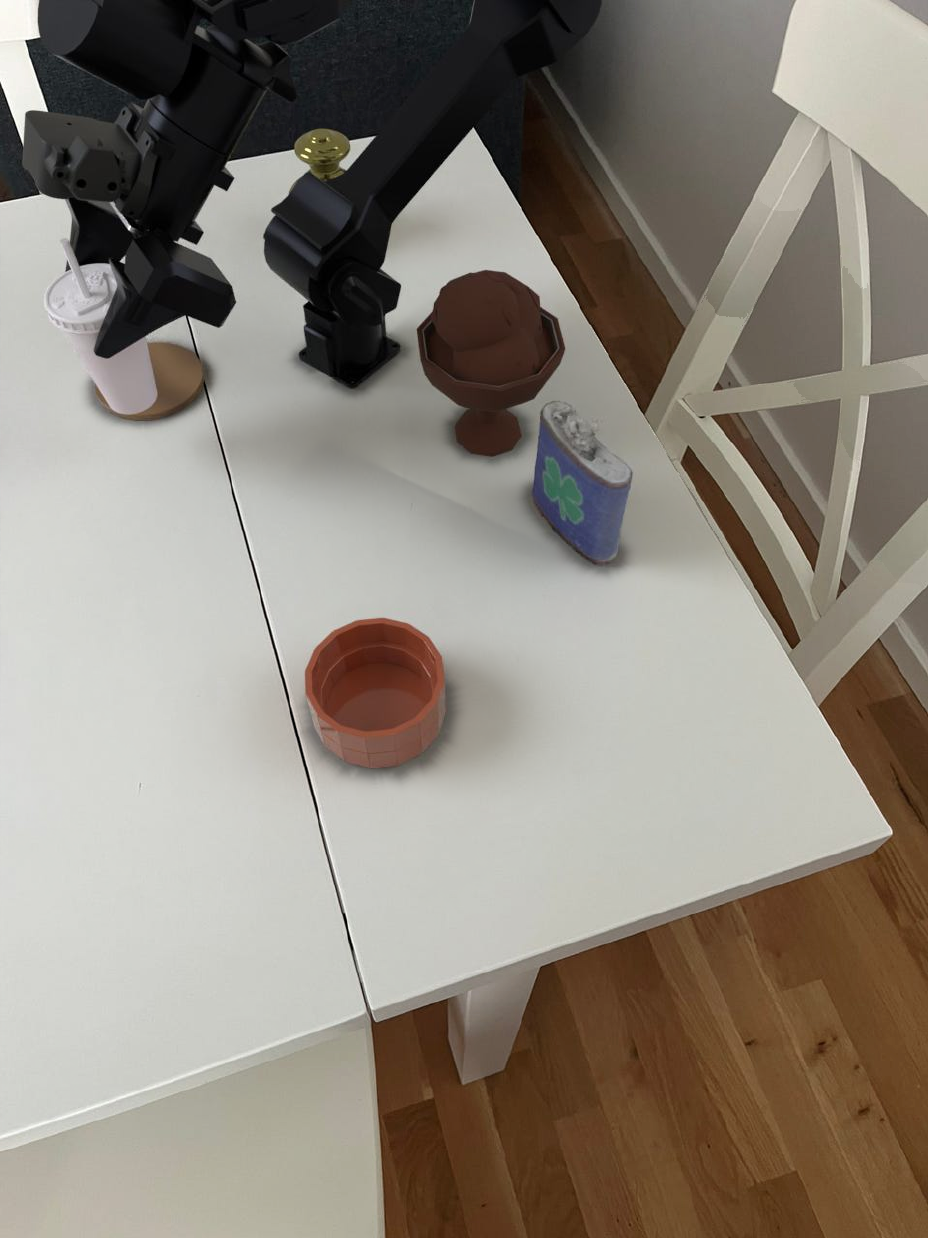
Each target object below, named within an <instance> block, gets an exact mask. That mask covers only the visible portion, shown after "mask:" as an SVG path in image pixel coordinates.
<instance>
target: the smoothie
mask: <svg viewBox="0 0 928 1238" xmlns="http://www.w3.org/2000/svg"><path fill="white" fill-rule="evenodd" d="M59 243H60V245H61V248H62V251H63V253H64V256H65V257H66V258H65V259H66V261H67V260H68V263H69V265H70V267H71V270H69V271H67V272H65V271H64V272H63V273H61V274H60V275H58V276H57V277H56V278H55V279H54V280H52V282H51V283H49V285H48V287H47V288H46V290H45V292H44V295H43V307H44V309H45V310H46V314H47V317H48V319H49V321H50V323H51V324H53V325H54V326H55V327H56V328H58V329H59V330H61V331H62V334H63V335H64V337H65V338H66V340H67V342H68V343H69V344H70V346H71V347H72V350H74V352H75V354H76V356H77V357H78V359H79V360H80V362H81V363H82V365H83V366H84V368H85V369H86V371H87V373H88V374H89V376H90V377H91V379H92V381H93V382H94V385H95V384H96V385H97V387H98V388H99V390H100V392H101V393H102V395H103V396H104V398H105V399H106V401H107V403H108V404H109V406H110V407H111V409H112V410H114V411H115V412H117V413H120V414H136V413H140V412H142V411H144V410H146V409H148V408H149V407H150V406H152V405H153V403H154V402H155V401H156V398H157V388H156V384H155V379H154V374H153V369H152V364H151V360H150V355H149V350H148V345H147V343H148V340H147V336H145V337H143V338H142V339H140V340H139V341H137V342H135V343H134V344H132V345H130V346H129V347H127V348H126V349H124V350H122V351H121V352H119V353H117V354H116V355H114V356H113V357H111V358H109V359H105V358H102V357H99V356H96V355H95V353H94V351H93V350H94V346H95V343H96V340H97V337H98V334H99V331H100V328H101V326H102V323H103V321H104V318H105V316H106V313H107V311H108V308H109V306H110V304H111V301H112V299H113V296H114V294H115V291H116V288H117V283H116V280H115V277H114V274H113V271H112V269H111V266H110V264H106V263H96V264H87V265H83V266H79V264H78V262H77V259H76V257H75V254H74V252H73V249H72V247H71V245H70V239H69V238H67V237H63V238H61V239H60V240H59Z"/></svg>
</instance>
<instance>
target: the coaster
mask: <svg viewBox="0 0 928 1238" xmlns="http://www.w3.org/2000/svg"><path fill="white" fill-rule="evenodd" d="M147 345H148V350H149V355H150V360H151V364H152V369H153V374H154V379H155V384H156V388H157V398H156V401H155V402H154V403H153V405H152V406H150V407H149V408H148V409H146V410H144V411H142V412H140V413H136V414H120V413H117V412H115V411H114V410H112V409H111V407H110V406H109V404H108V403H107V401H106V399H105V398H104V396H103V395H102V393H101V392H100V390H99V388H98V387H97V385H96V384H95V383H94V392H95V395H96V397H97V399H98V402H99V403H100V404H101V406H102V407H103V409H105V410H106V411H108V412H109V413H110V414H112V415H114V416H117V417H119V418H123V419H126V420H131V421H132V420H133V421H150V420H156V419H161V418H164V417H168V416H171V415H173V414H176V413H177V412H179V411H182V410H183V409H184V408H186V407H188V406H189V405H190V404H191V403H192V402H194V400H195V399H196V398H197V397H198V395H199V394H200V393H201V391H202V388H203V386H204V384H205V370H204V368H203V364H202V362H201V360H200V358H199V357H198V356H197V355H196V354H195V353H194V352H193V351H192V350H190V349H188V348H186V347H185V346H182V345H179V344H177V343H176V344H175V343H171V342H163V341H162V342H161V341H159V342H158V341H156V342H154V341H153V342H147Z"/></svg>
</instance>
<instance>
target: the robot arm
mask: <svg viewBox="0 0 928 1238" xmlns="http://www.w3.org/2000/svg"><path fill="white" fill-rule="evenodd" d="M352 1H353V0H38V5H37V6H38V7H37V27H38V34H39V38H40V41H41V43H42V44H43V46H44V48H45V50H46V51H47V52H49V53H50V54H51V55H53V56H55V57H57V58H59V59H60V60H63V61H65V62H66V63H68V64H70V65H72V66H74V67H76V68H77V69H79V70H82V71H84V72H86V73H88V74H89V75H91V76H93V77H95V78H97V79H98V80H101V81H102V82H105V83H106V84H108V85H110V86H112V87H114V88H116V89H118V90H120V91H121V92H123V93H125V94H127V95H129V96H131V97H133V98H134V99H138V100H141V101H142V100H143V101H144V100H147V101H146V103H145V105H144V107H143V108H142V107H140V106H139V105H137V104H135V103H134V102H132V101H130V103H129V104H128V106H124V107H122V109H120V110H121V111H119V114H118V116H117V118H116V120H115V121H114V123H112V122H107V121H103V120H98V119H95V118H92V117H89V116H80V115H75V114H67V113H58V112H52V111H46V110H45V111H44V110H38V109H37V110H35V109H31V110H27V111H25V113H24V127H23V128H24V129H23V145H22V146H23V147H22V160H21V161H22V163H21V164H22V167H23V169H24V170H25V171H28V173H29V175H30V176H31V177H32V179H33V181H34V186H35V187H36V189H37V190H38V191H39V192H40V194H43V195H44V196H47V197H49V198H52V199H58V200H64V201H65V203H66V205H67V208H68V210H69V212H70V213H69V214H70V215H71V226H70V234H69V242H70V245H71V247H72V249H73V252H74V254H75V257H76V259H77V262H78V264H79V266H83V265H87V264H96V263H106V264H110V266H111V269H112V271H113V274H114V277H115V280H116V283H117V288H116V291H115V294H114V296H113V299H112V301H111V304H110V306H109V308H108V311H107V313H106V316H105V318H104V321H103V323H102V326H101V328H100V331H99V334H98V337H97V340H96V343H95V346H94V350H93V351H94V353H95V355H96V356H99V357H102V358H105V359H109V358H111V357H113V356H114V355H116V354H117V353H119V352H121V351H122V350H124V349H126V348H127V347H129V346H130V345H132V344H134V343H135V342H137V341H139V340H140V339H142V338H143V337H145V336H146V337H147V336H148V335H150V334H152V333H154V332H155V331H157V330H159V329H161V328H163V327H164V326H166V325H168V324H170V323H173V322H174V321H176V320H179V319H181V318H183V317H185V316H186V317H189V318H192V319H194V320H196V321H199V322H202V323H204V324H207V325H209V326H212V327H214V328H217V329H220V328H221V327H223V326H224V324H225V323H226V321H227V319H228V317H229V316H230V314H231V313H232V311H233V309H234V307H235V305H236V304H237V300H236V296H235V293H234V292H235V291H234V289H233V285H232V283H230V281H229V280H228V279H227V277H226V276H225V274H224V273H223V272H222V271H221V270H220V268H219V267H218V266H217V264H216V263H215V261H214V260H213V259H212V257H209V256H207V255H205V254H203V253H201V252H198V251H197V250H194V249H192V248H189V247H187V246H185V245H183V244H180V243H179V240H180V239H181V240H184V241H186V242H189V243H191V244H193V245H195V246H198V244H199V242H200V240H201V239H202V237H203V236H204V233H205V232H204V230H203V229H202V227H201V226H200V225H199V224H198V222H197V221H196V220H197V217H198V216H199V214H200V212H201V211H202V209H203V207H204V205H205V203H206V201H207V200H208V198H209V197H210V194H211V193H212V191H213V189H214V187H217V188H219V189H221V190H223V191H224V192H228V191H229V189H230V187H231V185H232V183H234V182H233V181H234V180H235V177H234V176H233V175H232V173H231V172H230V171H229V169H228V168H227V167H226V165H228V164H227V163H228V162H229V160H230V158H231V156H232V154H233V152H234V151H235V149H236V147H237V146H238V144H239V142H240V140H241V138H242V136H243V135H244V133H245V131H246V129H247V127H248V125H249V124H250V122H251V120H252V118H253V116H254V115H255V113H256V111H257V109H258V107H259V106H260V104H261V102H262V100H263V98H264V96H265V95H266V93H267V91H270V92H272V93H273V94H275V95H277V96H278V97H280V98H281V99H283V100H284V101H286V102H288V103H290V104H291V103H292V104H293V103H295V102H296V101H297V100H298V92H297V89H296V88H297V87H296V84H295V82H294V78H293V74H292V70H291V69H292V68H291V62H292V61H291V60H292V59H291V55H290V54H288V53H287V52H286V50H284V48H282V47H281V46H284V45H285V46H286V45H295V44H297V43H299V42H301V41H303V40H305V39H307V38H308V37H310V36H312V35H314V34H316V33H318V32H320V31H322V30H323V29H325V28H327V27H328V26H330V25H332V24H334V23H336V22H337V21H338V20H339V19H340V18H341V17H342V15H344V13H345V11H346V10H347V8H348V7H349V5H350V4H351V2H352ZM602 3H603V0H473V3H472V8H471V15H470V19H469V24H468V26H467V27H466V29H465V30H464V31H463V33H462V34H461V35H460V36H459V37H458V38H457V40H456V41H455V42H454V43H453V45H452V46H451V47H450V48H449V49H448V50H447V51H446V53H445V54H444V55H443V56H442V57H441V59H440V60H439V61H438V62H437V63H436V64H435V66H434V67H433V68H432V69H431V70H430V71H429V73H427V75H426V76H425V77H424V78H423V79H422V81H421V82H420V83H419V85H418V86H417V87H416V88H415V89H414V90H413V92H412V93H411V94H410V95H409V96H408V97H407V98H406V99H405V101H404V102H403V104H402V105H401V106H400V107H399V108H398V109H397V110H396V112H395V113H394V114H393V115H392V117H390V119H389V120H388V121H387V122H386V124H384V126H383V127H382V128H381V129H380V130H379V132H378V133H377V134H376V135H375V136H374V138H373V139H372V140H371V141H370V142H369V143H368V144H367V146H366V147H365V148H364V149H363V150H362V152H361V153H360V154H359V155H358V157H357V158H356V159H355V160H354V161H353V162H352V164H351V165H349V167H348V168H347V169H345V170H346V171H345V172H344V173H343V174H342V175H340V176H337V177H334V178H332V179H329V180H327V181H324V182H323V181H322V180H320V179H319V178H318V177H316V176H315V175H314V174H312V173H311V172H307V171H306V172H307V173H306V172H305V173H306V174H305V173H304V174H302V175H301V176H300V177H298V179H299V180H298V181H297V183H296V184H295V186H294V187H293V189H292V191H291V192H290V193H289V192H288V194H289V195H288V194H287V196H286V197H284V199H283V200H282V201H281V202H279V203H277V204H276V205H274V206H273V207H271V209H270V212H271V213H272V214H273V215H274V216H273V217H272V218H271V220H270V221H269V223H268V224H267V226H266V227H265V230H264V232H263V235H262V238H263V243H264V244H263V255H264V260H265V263H266V264H267V266H268V268H269V269H270V270H271V271H272V272H273V273H274V274H275V275H276V276H278V277H279V278H280V279H282V280H283V281H284V282H285V283H286V284H287V285H289V286H290V288H292V289H293V290H295V291H296V292H298V294H299V295H300V296H302V297H303V298H304V299H305V300H307V302H305V303H304V304H302V308H303V314H304V322H305V325H304V326H303V334H304V340H305V347H303V348H302V349H301V350H299V352H298V357H299V360H300V362H303V363H305V364H307V365H308V366H310V367H312V368H313V369H315V370H317V371H319V372H320V373H321V374H324V375H325V376H327V377H329V378H331V379H333V380H334V381H336V382H337V383H340V384H341V385H343V386H345V387H347V388H349V389H356V388H358V387H359V386H360V385H362V383H364V382H365V381H367V379H369V378H370V377H371V376H373V375H374V374H375V373H376V372H377V371H378V370H379V369H381V368H382V367H383V366H384V365H386V364H387V363H388V362H389V361H391V360H392V359H394V358H395V356H397V355H398V354H399V353H401V351H402V347H401V344H400V343H399V342H397V341H395V340H394V339H392V338H389V337H388V336H387V325H386V315H387V314H389V313H391V312H392V311H395V310H396V309H397V308H398V304H399V298H400V295H401V291H402V285H401V283H400V282H399V281H398V280H396V279H394V278H393V277H392V276H391V275H389V274H388V273H387V272H385V270H383V269H382V267H383V265H384V263H385V260H386V257H387V256H386V255H387V251H388V246H389V241H390V236H391V231H392V226H393V223H394V222H395V220H396V219H397V218H398V216H399V215H400V214H401V213H402V212H403V210H404V209H405V208H406V207H407V206H408V205H409V204H410V202H411V201H412V200H413V199H414V198H415V197H416V196H417V194H418V193H419V192H420V191H421V190H422V188H423V187H424V186H426V184H427V182H428V181H429V180H430V179H431V178H432V177H433V175H434V174H435V173H436V172H437V171H438V170H439V168H440V167H441V166H442V165H443V164H444V162H445V161H446V160H447V159H448V158H449V157H450V155H451V154H452V153H453V152H454V151H456V149H457V147H458V146H459V145H460V144H461V143H462V141H464V139H465V138H466V137H467V136H468V135H469V134H470V132H471V131H472V130H473V128H474V127H476V125H477V124H478V122H480V120H481V119H483V117H484V116H485V114H486V113H488V111H489V110H490V109H491V108H492V107H493V106H494V104H495V103H496V102H497V101H498V100H499V98H500V97H501V96H502V95H503V93H505V91H506V90H507V89H508V88H509V87H510V85H511V84H512V83H513V82H514V81H515V80H516V79H518V78H520V77H522V76H525V75H527V74H530V73H532V72H536V71H538V70H541V69H543V68H546V67H548V66H551V65H554V64H555V63H557V62H558V61H559V60H560V59H561V58H563V57H564V56H565V55H566V54H567V53H568V52H569V51H570V50H572V49H573V48H574V47H575V46H576V45H577V44H578V43H579V42H580V41H581V40H582V39H583V38H584V37H586V35H588V34H589V32H590V30H591V29H592V28H593V26H594V25H595V23H596V21H597V19H598V17H599V14H600V11H601V8H602ZM201 20H205V21H207V22H208V23H210V24H211V25H209V26H207V27H205V28H203V27H201V26H199V23H200V22H201ZM254 38H264V39H266V40H268V41H265V42H263V43H253V42H252V41H250V40H249V39H254ZM280 45H281V46H280ZM123 258H124V262H122V260H123ZM65 264H66V265H65V270H64V273H65V272H67V271H69V270H71V267H70V265H69V263H68V260H67V259H66V263H65Z"/></svg>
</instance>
